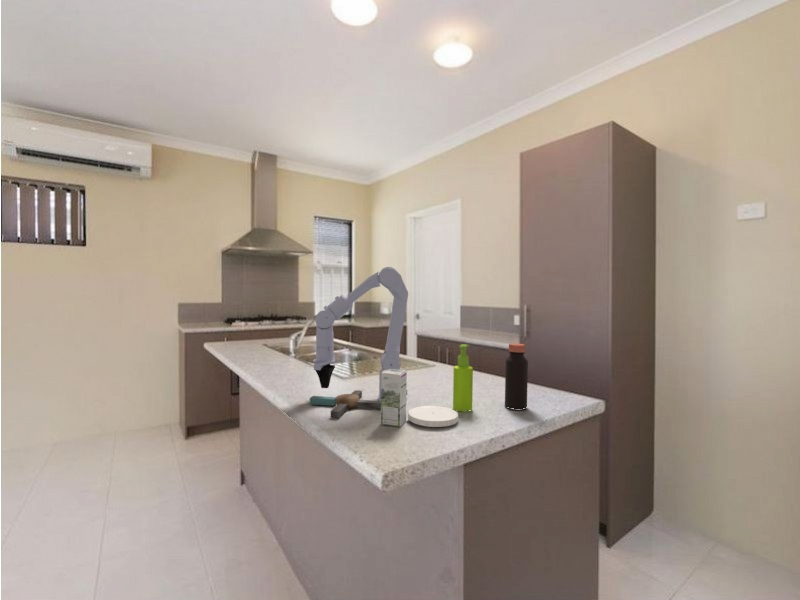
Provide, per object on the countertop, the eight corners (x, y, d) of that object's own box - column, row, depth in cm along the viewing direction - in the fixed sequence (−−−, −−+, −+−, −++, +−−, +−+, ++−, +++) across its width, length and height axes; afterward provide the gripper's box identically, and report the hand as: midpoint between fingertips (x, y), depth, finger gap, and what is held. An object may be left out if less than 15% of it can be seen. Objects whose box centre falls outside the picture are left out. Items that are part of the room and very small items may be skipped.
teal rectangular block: (336, 403, 125) (336, 397, 125) (334, 405, 123) (334, 399, 123) (312, 402, 127) (312, 395, 127) (309, 404, 124) (309, 397, 124)
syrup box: (406, 421, 110) (407, 369, 110) (399, 427, 105) (400, 373, 104) (387, 418, 112) (388, 367, 112) (379, 425, 106) (380, 371, 106)
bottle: (530, 407, 125) (532, 344, 124) (520, 412, 120) (522, 346, 119) (510, 403, 129) (512, 342, 129) (500, 407, 124) (501, 344, 124)
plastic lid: (419, 411, 120) (419, 403, 120) (464, 418, 114) (464, 410, 114) (399, 425, 108) (399, 416, 107) (448, 434, 101) (448, 424, 101)
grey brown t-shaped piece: (392, 398, 133) (392, 389, 133) (376, 421, 110) (376, 410, 109) (348, 395, 136) (348, 387, 136) (323, 417, 112) (323, 407, 112)
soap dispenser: (475, 407, 124) (476, 344, 124) (469, 413, 118) (470, 346, 118) (457, 404, 127) (458, 342, 126) (450, 410, 121) (451, 345, 120)
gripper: (321, 343, 138) (321, 382, 138) (304, 349, 124) (304, 392, 124) (340, 344, 137) (340, 382, 137) (325, 350, 123) (326, 393, 123)
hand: (325, 387), depth 131 cm, fingers closed
